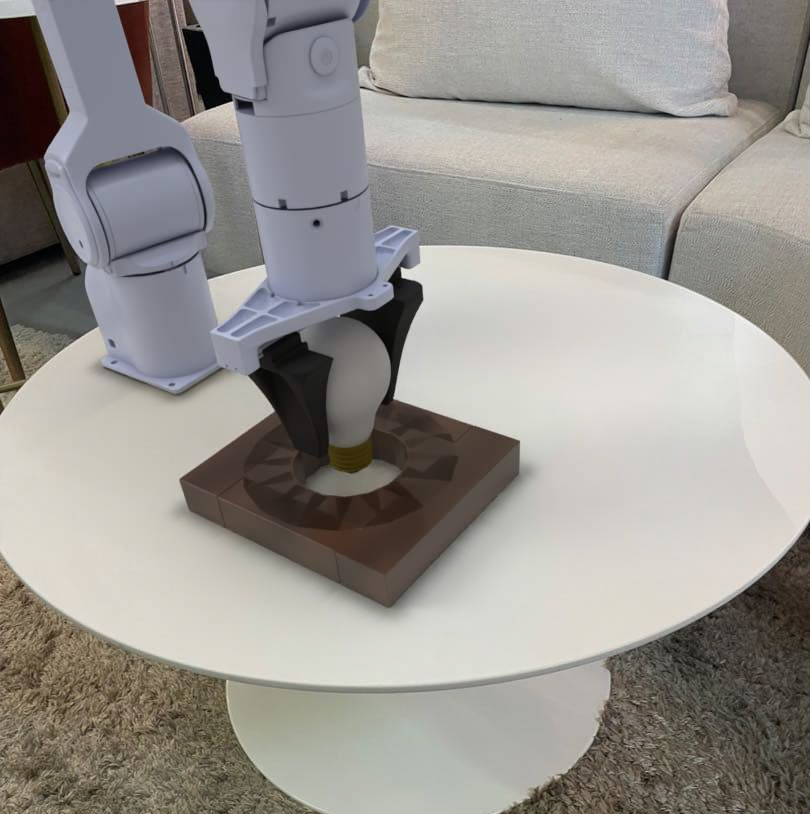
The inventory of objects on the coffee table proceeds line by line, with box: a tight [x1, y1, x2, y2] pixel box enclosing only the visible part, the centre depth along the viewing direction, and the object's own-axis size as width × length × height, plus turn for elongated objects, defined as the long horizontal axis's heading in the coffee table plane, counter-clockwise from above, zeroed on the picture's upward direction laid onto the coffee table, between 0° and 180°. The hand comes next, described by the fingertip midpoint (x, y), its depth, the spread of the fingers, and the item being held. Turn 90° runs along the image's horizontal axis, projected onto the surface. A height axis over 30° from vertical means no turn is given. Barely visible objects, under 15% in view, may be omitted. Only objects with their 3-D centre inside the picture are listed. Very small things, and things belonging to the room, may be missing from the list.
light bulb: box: [300, 316, 391, 474], centre depth 47 cm, size 6×6×10 cm
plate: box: [178, 398, 521, 608], centre depth 51 cm, size 16×14×2 cm
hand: (344, 424), depth 48 cm, fingers closed on light bulb, 6 cm apart
